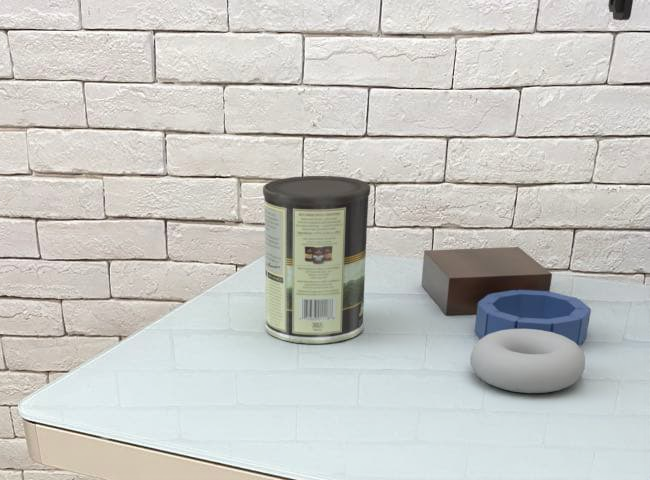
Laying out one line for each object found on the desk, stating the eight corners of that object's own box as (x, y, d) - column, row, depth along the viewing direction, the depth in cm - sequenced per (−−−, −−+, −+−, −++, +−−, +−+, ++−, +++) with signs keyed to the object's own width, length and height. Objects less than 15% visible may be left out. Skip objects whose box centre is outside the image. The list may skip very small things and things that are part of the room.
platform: (514, 281, 112) (518, 246, 110) (546, 310, 103) (552, 273, 101) (421, 285, 111) (424, 250, 109) (445, 315, 102) (449, 278, 100)
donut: (602, 378, 87) (506, 349, 93) (610, 341, 85) (512, 314, 91) (544, 410, 81) (446, 377, 87) (550, 372, 79) (450, 341, 85)
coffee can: (331, 306, 105) (336, 171, 98) (382, 334, 97) (391, 189, 90) (247, 320, 102) (244, 181, 94) (292, 351, 94) (294, 201, 86)
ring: (560, 315, 101) (565, 287, 100) (601, 351, 92) (606, 321, 91) (463, 319, 101) (466, 291, 99) (495, 356, 92) (498, 326, 90)
